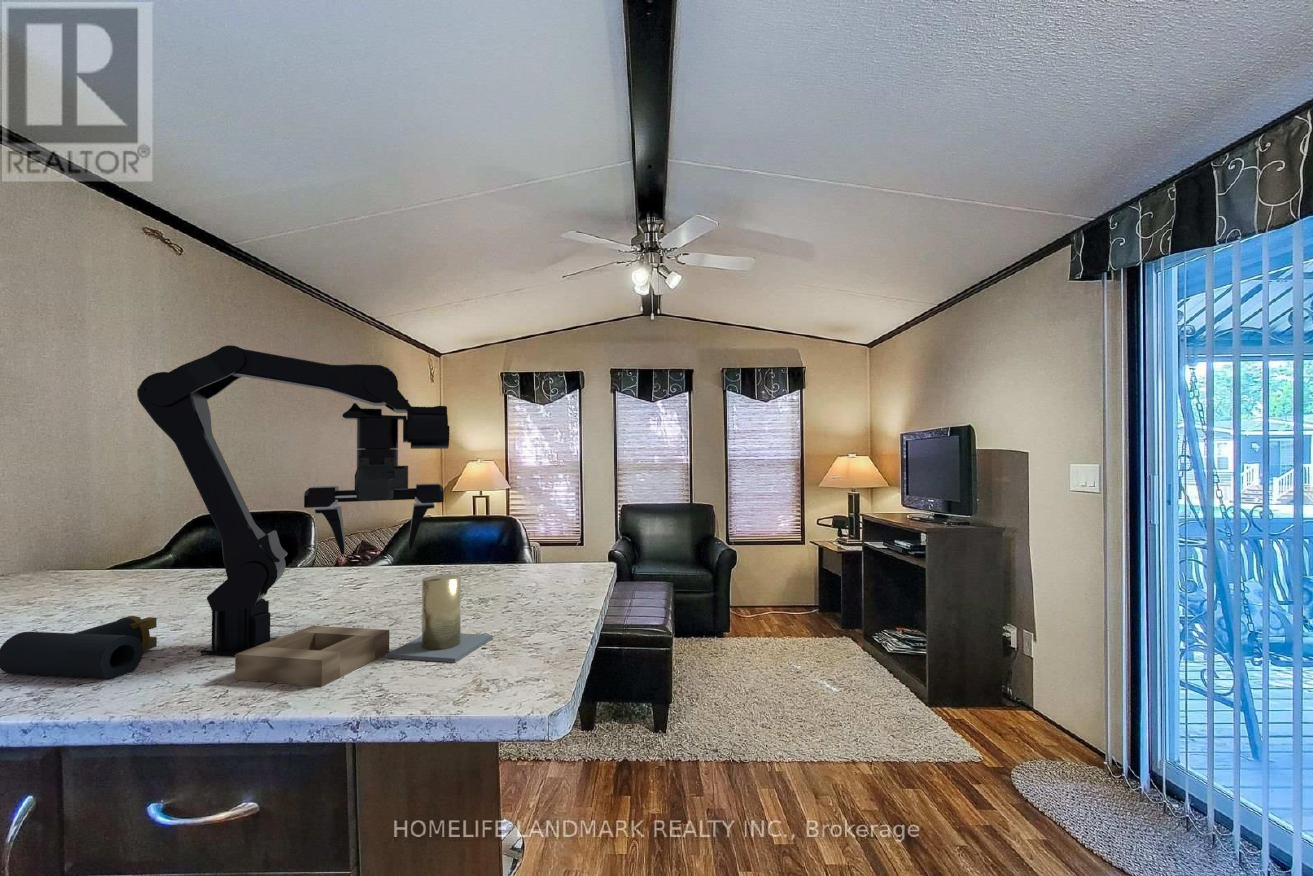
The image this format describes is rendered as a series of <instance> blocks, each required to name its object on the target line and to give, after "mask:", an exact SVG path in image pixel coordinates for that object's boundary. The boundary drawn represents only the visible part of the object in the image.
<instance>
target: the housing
mask: <svg viewBox="0 0 1313 876" xmlns="http://www.w3.org/2000/svg"><path fill="white" fill-rule="evenodd" d="M277 638H278V639H275V640H273V641H270V642H267V643H264V644H262V645H259V646H256V647H254V648H251V649H248V650H245V651H243V652H240V653H237V654H235V655H234V656H235V657H234V659H235V660H234V669H235V670H234V680H236V681H249V682H250V681H251V682H262V683H272V684H273V683H274V684H285V685H295V686H296V685H298V686H309V687H310V686H311V687H324V686H325V685H328V684H330V683H331V682H333V681H335V680H338V679H340V678H342V677H343V676H346V675H347V674H350V673H352V672H353V671H355V670H357V669H360V668H362V667H363V666H365V665H367V664H369V663H371V662H373V661H375V660H378V659H380V658H381V657H383V656H386V654H387V653H389V652H390V629H382V628H381V629H380V628H379V629H377V628H362V627H343V626H329V625H328V626H325V625H323V626H322V625H311V626H308V627H305V628H303V629H301V630H297V631H295V632H293V633H289V634H286V635H283V636H281V637H277Z"/></svg>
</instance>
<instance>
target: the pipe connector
mask: <svg viewBox="0 0 1313 876" xmlns="http://www.w3.org/2000/svg"><path fill="white" fill-rule="evenodd" d="M155 628H157V617H153V616H152V617H145V618H141V617H140V616H138V615H137V616H136V615H128V616H126V617H122V618H119V619H117V620H115V621H111V622H108V623H105V624H101V625H97V626H95V627H90V628H87V629H84V630H80V631H77V632H70V633H68V632H51V631H50V632H47V631H46V632H45V631H23V632H19V633H16V634H14V635H13V636H11V637H9V638H8V639H7V640H5V641H4V643H3V644H2V645H1V646H0V670H1V671H2V672H4V673H6V674H14V675H31V676H32V675H33V676H34V675H35V676H49V677H50V676H51V677H52V676H53V677H68V678H69V677H70V678H71V677H72V678H73V677H74V678H86V679H87V678H88V679H105V680H106V679H107V680H114V679H117V678H120V677H122V676H125V675H127V674H131V673H132V672H134V671H135V670H136V669H137V668H138V666H139V665H140V663H141V660H142V658H143V655H144V652H145V651H147V650H151V649H155V648H157V643H158V642H157V641H158V639H157V638H158V637H157V636H151V635H150V630H152V629H155Z"/></svg>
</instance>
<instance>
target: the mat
mask: <svg viewBox="0 0 1313 876" xmlns="http://www.w3.org/2000/svg"><path fill="white" fill-rule="evenodd" d="M493 637H494V635H493V634H480V633H479V634H478V633H462V632H461V642H460V644H459V645H457V646H454V647H451V648H447V649H439V650H429V649H424V648H423V647H422V635H421V636H419V637H417V638H415V639H413V640H411V641H409V642H407V643H405V644H402V646H399V647H397V648H396V649H393V650H391V651H389V653H387V654H385V658H387V659H395V660H396V659H399V660H411V661H412V660H414V661H425V662H426V661H429V662H445V663H457V662H459V661H460V660H461V659H463V658H465V657H466V656H468V655H469V654H471V653H473V652H474V651H475V650H478V649H479V648H481V647H482V646H484V645H486V643H488V642H489V641H492V640H493Z"/></svg>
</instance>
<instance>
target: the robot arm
mask: <svg viewBox="0 0 1313 876" xmlns="http://www.w3.org/2000/svg"><path fill="white" fill-rule="evenodd" d="M241 378H249V379H256V380H260V381H261V380H263V381H267V382H274V383H280V384H287V385H293V386H298V387H305V388H311V389H316V390H323V391H328V392H332V393H335V394H338V395H340V396H344V397H347V398H349V399H352V400H355V401H359V402H361V403H365V404H368V405H371V406H374V407H383V406H384V407H386V408H388V409H389V410H390V411H392V412H394V413H396V414H406V415H392V414H391V415H390V414H389V415H388V414H383V408H367V407H366V408H363V407H360V406H359V405H358V403H356V402H354V403H352V405H351V407H350V408H348V410H347V411H345V412H343V413H342V418H343V419H345V420H356V470H355V474H354V489H340V488H339V485H331V486H330V485H329V486H311V487H308V488H307V489H306V490H305V491H304V496H303V508H307V509H308V508H309V509H310V508H315V509H314V513H315V514H322V515H323V517H324V518H325V519H326V521H327V522H328V524H329V526H330V528H331V530H332V532H333V533H332V534H333V535H334V537H335V542H336V543H337V546H338V549H339V552H340V554H341V556H345V554H346V538H345V528H344V520H343V511H342V506H341V505H339V504H340V503H352V502H354V503H355V502H357V503H358V502H377V501H378V502H379V501H381V502H382V501H407V500H409V501H410V500H414V502H413V506H412V515H411V519H410V520H411V521H410V527H409V535H408V551H412V550H413V546H414V544H415V541H416V538H417V533H418V531H419V528H420V526H421V523H422V521H423V518H424V517H425V515H426V514H427V511H428V510H430V509H431V510H432V509H435V506H436V505H435V504H436V503H437V504H438V503H445V502H444V501H445V499H444V497H445V492H444V487H443V486H442V485H441V484H439V483H438V482H437V483H436V482H435V483H416V484H415V487H413V488H412V487H411V488H410V487H409V465H399V421H402V443H407V444H409V443H410V450H416V449H417V450H430V449H431V450H433V449H434V450H436V449H437V450H438V449H440V450H441V449H443V450H444V449H445V450H446V449H447V450H448V449H449V447H450V425H449V418H448V406H447V405H435V406H412V405H411V404H410V403H409V399H406V397H405V396H404V395H403V394H402V392H401V391H400V390H399V381H398V378H397V375H396V374H395V373H394V372H393V371H392V369H391V368H388V367H387V366H384V365H381V364H360V363H358V364H357V363H355V364H328V363H323V362H318V361H312V360H307V359H301V358H296V357H289V356H285V355H279V354H278V355H277V354H274V353H273V354H272V353H267V352H261V351H257V350H250V349H245V348H241V347H239V346H237V345H234V344H233V345H223V346H221V347H220V348H218V349H217V350H214V351H213V352H211V353H209V354H207V355H205V356H202V357H200V358H197V359H193V360H192V361H189V362H187V363H184V364H182V365H179V366H177V367H176V368H174V369H172V370H170V371H160V372H155V373H152V374H150V375H148V376H146V378H144V379H143V380H142V382H141V383H140V384H139V386H138V388H137V391H136V395H137V399H138V402H139V403H140V404H141V406H142V407H143V409H144V411H146V413H147V414H148V415H149V417H151V419H152V420H153V423H155V424H156V426H158V427H159V428H160V430H161V431H162V432H163V433H165V434H166V436H168V438H169V439H170V440H171V441H172V442H173V443H174V444H175V445H176V448H177V451H178V452H179V454H180V456H181V458H182V460H183V462H184V464H185V466H186V469H187V470H188V473H189V475H190V477H191V478H192V481H193V483H194V485H195V487H196V488H197V491H198V493H199V496H200V497H201V499H202V501H203V504H204V505H205V508H206V509H207V512H208V514H209V516H210V518H211V520H212V521H213V523H214V526H215V527H216V529H217V530H216V531H217V533H218V534H219V537H220V541H221V550H222V551H221V552H222V561H223V566H224V571H225V573H226V578H227V579H226V580H224V582H222V583H221V584H220V585H218V586H217V588H215V589H214V590H213V591H212V592H211V593H210V594H208V595H207V596H206V601H207V603H208V605H209V607H210V609H211V645H209V646H206V647H203V648H201V649H200V653H201V654H209V655H210V654H213V655H225V656H226V655H227V656H235V654H237V653H240V652H243V651H245V650H248V649H251V648H254V647H256V646H259V645H262V644H264V643H267V642H270V641H273V640H275V639H278V638H279V637H275V636H274V637H273V636H271V612H270V611H269V610H270V609H269V608H270V606H269V605H270V602H269V600H266V599H265V598H263V597H265V596H266V595H267V594H268V591H269V590H270V589H271V588H272V587H273V586H274V584H276V583H277V582H278V581H279V579H280V578H282V576H283V574H284V573H285V570H286V567H287V566H286V563H287V562H286V559H285V557H287V556H288V554H289V553H288V551H286V550H285V549H284V548H283V547H282V545H281V543H280V542H281V541H280V538H279V535H278V532H277V530H272V531H270V532H269V533H267V534H266V532H264V531H263V530H262V529H261V528H260V527H259V526H258V525H257V524H256V522H255V520H254V518H253V516H252V514H251V512H250V510H249V508H248V506H247V504H246V501H245V500H244V499H245V498H244V497H243V495H242V493H241V491H240V489H239V487H238V485H237V483H236V481H235V479H234V477H233V475H232V473H231V470H230V467H228V464H227V462H226V460H225V458H224V456H223V453H222V452H221V450H220V448H219V445H218V443H217V440H216V439H215V437H214V435H213V430H212V427H213V426H212V419H211V415H212V414H211V411H210V407H209V403H208V402H209V401H208V400H209V399H212V398H213V397H215V396H217V395H219V394H220V393H221V392H223V390H225V389H227V388H228V387H229V386H230V385H232V384H233V383H235V382H236V381H237V380H239V379H241ZM415 502H416V503H415ZM434 503H435V504H434Z"/></svg>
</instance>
